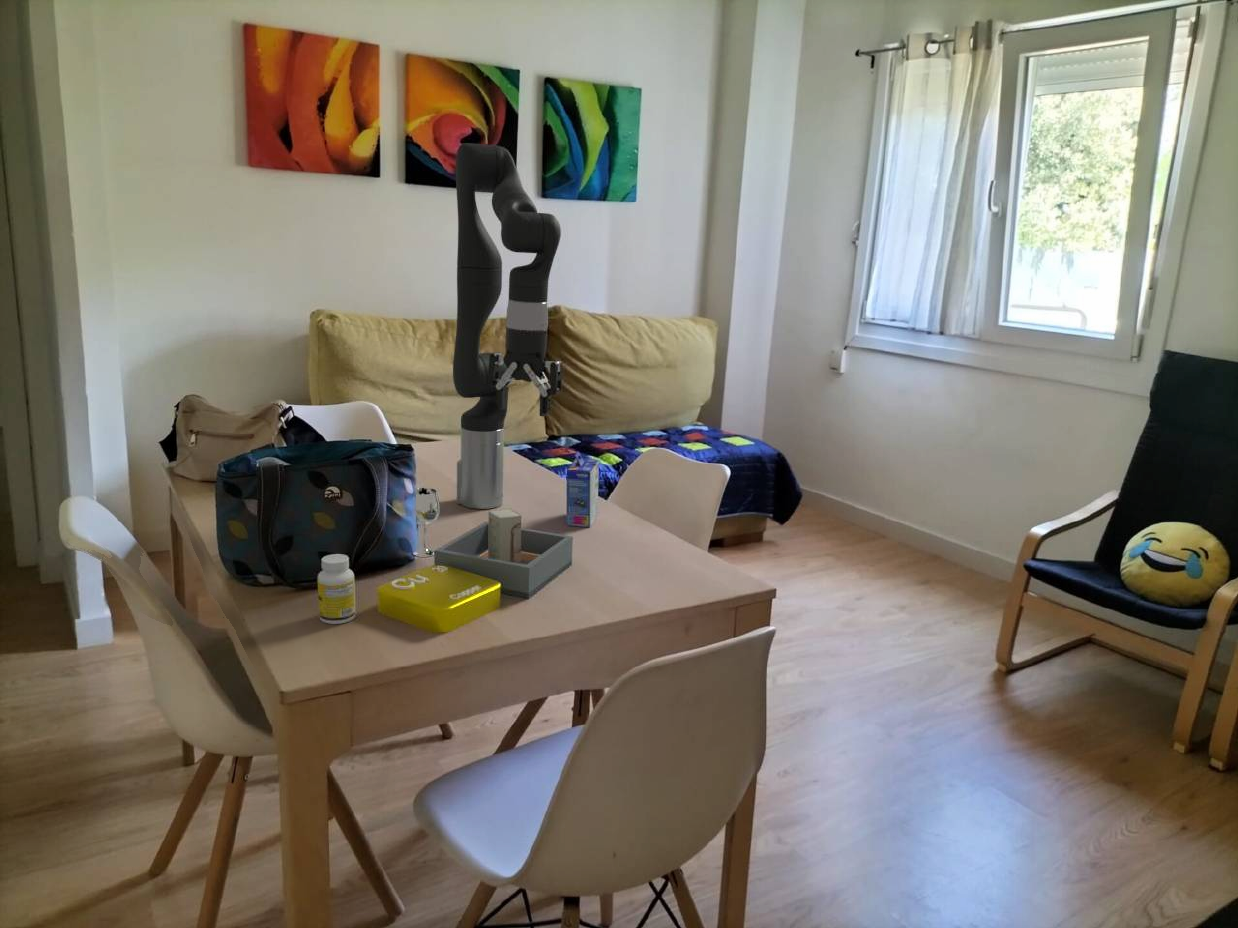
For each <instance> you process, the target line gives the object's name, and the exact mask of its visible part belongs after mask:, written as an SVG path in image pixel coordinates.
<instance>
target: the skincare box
mask: <svg viewBox="0 0 1238 928" xmlns="http://www.w3.org/2000/svg"><path fill="white" fill-rule="evenodd" d="M488 522H489V524H488V558H491V559H496V560H502V561H507V562H513V563H518V564H521V528H522V515H521V514H520V513H518V512H517V511H515V510H513V509H511V508H505V509H503V508H502V509H495V510H488Z"/></svg>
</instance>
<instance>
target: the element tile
mask: <svg viewBox="0 0 1238 928" xmlns="http://www.w3.org/2000/svg"><path fill="white" fill-rule="evenodd" d="M376 591H377V595H376V596H377V599H376V600H377V612H378V613H379V614H381V615H383V616H387V617H390V618H392V619H395V620H398V621H401V622H404V623H406V624H408V625H412V626H414V627H417V628H420V629H422V630H426V631H428V632H431V633H435V634H445V633H450V632H453V631H454V630H457V629H459V628H460V627H463V626H464V625H465V626H466V625H467V624H469V623H471V622H473V621H475V620H478V619H480V618H481V617H484V616H486V615H488V614H491V613H492V612H495V611H496V610H498V609H500V608H501V606H502V604H501V603H502V594H501V583H499V582H498V581H496V580H492V579H489V578H486V577H483V576H479V575H476V574H473V573H470V572H466V571H463V570H460V569H457V568H453V567H450V566H447V565H443V564H435V565H434V564H433V565H429V566H426V567H424V568H421V569H419V570H416V571H414V572H411V573H409V574H405V575H404V576H401V577H398V578H396V579H393V580H390V581H387V582H385V583H382V584H381V585H379V586H377V590H376Z"/></svg>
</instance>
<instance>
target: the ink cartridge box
mask: <svg viewBox="0 0 1238 928" xmlns="http://www.w3.org/2000/svg"><path fill="white" fill-rule="evenodd" d="M574 457H575V459H574V461H573V462H572V463H571V464H570V465H569V467H568V468H567V470H566V526H571V527H573V526H574V527H581V528H582V527H583V528H589V527H592V525H593V523H594V521H595V519H596V518H597V516H598V513H599V465H600V463H599V460H598V459H585V458H583V457H582V455H581V453H580V452H579V451H576V453H575V454H574Z"/></svg>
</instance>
